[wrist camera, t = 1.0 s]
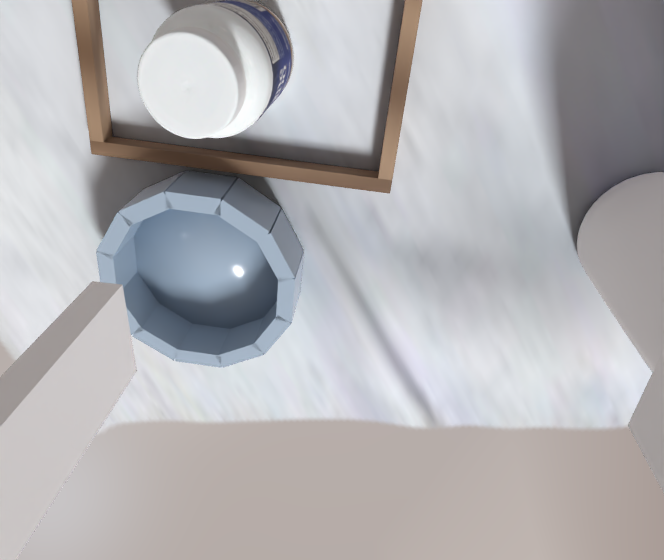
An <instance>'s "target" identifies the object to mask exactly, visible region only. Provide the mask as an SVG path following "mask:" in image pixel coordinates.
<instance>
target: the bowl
mask: <svg viewBox="0 0 664 560" xmlns="http://www.w3.org/2000/svg"><path fill="white" fill-rule="evenodd" d="M280 208H281V207H280V206H278V205H277V204H275V203H274V202H272V201H271V200H270V199H268V198H267V197H265V196H264V195H262V194H261V193H260V192H258V191H257V190H255V189H254V188H252V187H251V186H250V185H248V184H247V183H245V182H244V181H242V180H241V179H239V178H238V179H237V177H232V176H224V175H216V174H209V173H201V172H194V171H183V172H181V173H179V174H177V175H174V176H172V177H170V178H168V179H165V180H163V181H161V182H159V183H156V184H154V185H152V186H150V187H147V188H145V189H143V190H142V191H141V192H140V193H139V194H138V195H136V196H135V197H134V198H133V199H132V200H131V201H130V202H128V203H127V204H126V205H125V206H124V207H123V208H122V209H120V210H119V211H118V212H117V214H116V216H115V217H114V219H113V221H112V223H111V225H110V227H109V228H108V230H107V232H106V234H105V236H104V238H103V239H102V241H101V243H100V245H99V247H98V249H97V252H96V254H97V261H98V268H99V276H100V282H102V283H112V284H122V285H123V291H124V297H125V303H126V309H127V315H128V321H129V327H130V333H131V335H132V334H133V337H135V338H136V339H138V340H140V341H141V342H143V343H145V344H147V345H148V346H150V347H152V348H153V349H155V350H157V351H158V352H160V353H162V354H164V355H165V356H167V357H169V358H170V359H172V360H175V361H179V362H186V363H193V364H200V365H207V366H214V367H220V368H221V367H226V366H229V365H233V364H236V363H239V362H242V361H245V360H249V359H252V358H255V357H258V356H262V355H264V354H265V353H266V352H267V351H268V350H269V349H270V348H271V346H272V345H273V344H274V343H275V342H276V341H277V339H278V338H279V337H280V336H281V335H282V334H283V332H284V331H285V330H286V329H287V328H288V327H289V326H290V324H291V322H292V320H293V316H294V313H295V309H296V305H297V302H298V298H299V295H300V289H301V277H302V266H303V254H304V252H303V248H302V247H301V245H300V243H299V241H298V239H297V237H296V235H295V233H294V231H293V229H292V227H291V225H290V223H289V221H288V219H287V217H286V215H285V213H284V212H283V210H282V209H280Z"/></svg>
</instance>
